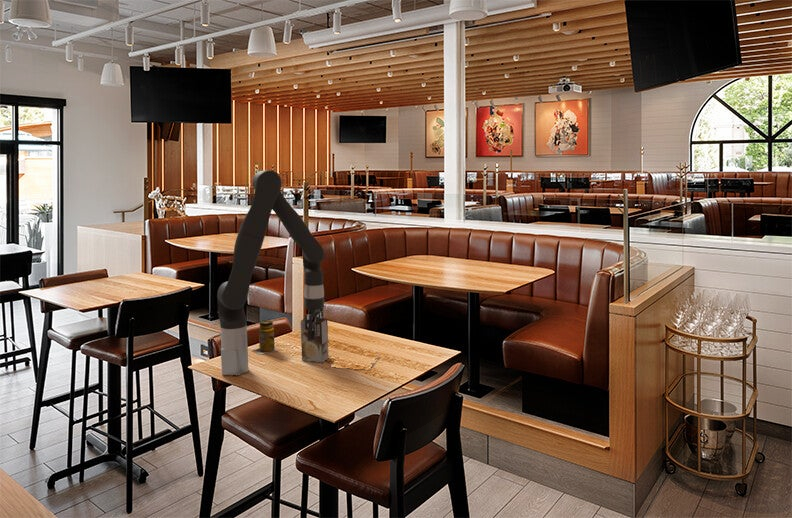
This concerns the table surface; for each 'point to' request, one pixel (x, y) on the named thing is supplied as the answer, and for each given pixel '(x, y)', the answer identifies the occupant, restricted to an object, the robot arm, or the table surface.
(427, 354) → the table surface
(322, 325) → the coffee box
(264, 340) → the condiment
